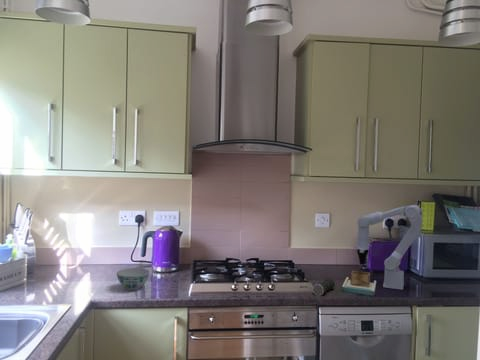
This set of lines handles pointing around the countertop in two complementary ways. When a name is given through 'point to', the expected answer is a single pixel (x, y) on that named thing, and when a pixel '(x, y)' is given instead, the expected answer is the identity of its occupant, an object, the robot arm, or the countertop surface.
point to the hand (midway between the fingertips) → (362, 263)
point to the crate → (360, 278)
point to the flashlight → (323, 286)
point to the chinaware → (133, 277)
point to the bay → (358, 288)
